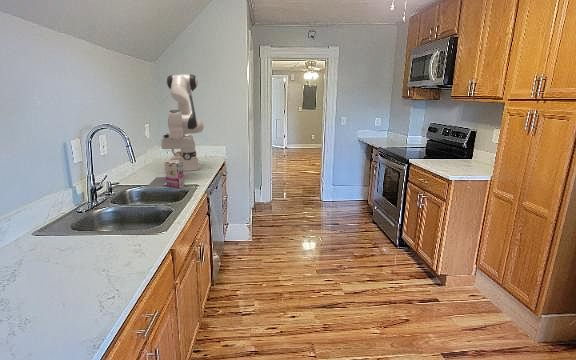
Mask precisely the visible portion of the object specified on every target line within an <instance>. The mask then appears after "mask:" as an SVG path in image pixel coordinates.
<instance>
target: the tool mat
mask: <svg viewBox="0 0 576 360" xmlns="http://www.w3.org/2000/svg"><path fill="white" fill-rule="evenodd" d="M166 184H167V183H166V176H160V177H159V176H157V177H155V178H154V179H153V180H152V181H151V182H150V183H149V184H148V185H147V187H163V186H165V185H166Z"/></svg>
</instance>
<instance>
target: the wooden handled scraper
mask: <svg viewBox="0 0 576 360" xmlns="http://www.w3.org/2000/svg"><path fill="white" fill-rule="evenodd" d="M180 153H182V151H181V150H180V151H176V152H175V156H172V157H170V158H169V159H170V160H169V161H177V160H178V161H179V160H180V159H181V158H182V156H180Z"/></svg>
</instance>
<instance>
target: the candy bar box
mask: <svg viewBox="0 0 576 360" xmlns="http://www.w3.org/2000/svg"><path fill="white" fill-rule="evenodd" d="M164 168H165V169H164V171H165V177H166V183H165V184H166V187H168V188H169V187H170V188H175V189H182V188H184V187H186V185H185V177H184V171H183V162H179V161H177V160H167V161H164Z"/></svg>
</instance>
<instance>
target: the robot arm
mask: <svg viewBox="0 0 576 360" xmlns="http://www.w3.org/2000/svg"><path fill="white" fill-rule="evenodd" d="M166 85H167V87H168V89H170V96H171V98H172V99H173V100H174V101H176V102H177V109H171V110H169V111H168V116H167V117H168V118H167V123H168V125H167V126H168V127H167V128H168V132H167V133H165V134H163V135H162V139H161V141H160V143H161V149H162V150H171V152H172V155H173V157H175V153H176V152H175V150H179V149H180V151H182V153H180V156H182V158H181V159H180V160H178V162H183V172H192V171H197V170H202V165H201V164H200V162H199V158H198V157H197V150H196V143H195V140H194V137H193V134H199V133H202V132H203V131H204V127H205V126H204V123H203V121H202V120H201V119H200V118H198V117H197V115H196V111H195V105H194V101H193V99H194V98H193V94H192V93H193V92H194V90H196V88H197V87H198V79H197V76H196V75H194V74H191V73H190V74H187V73H186V74H185V73H181V74H171V75H168V76H167V78H166ZM191 134H192V135H191Z"/></svg>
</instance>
